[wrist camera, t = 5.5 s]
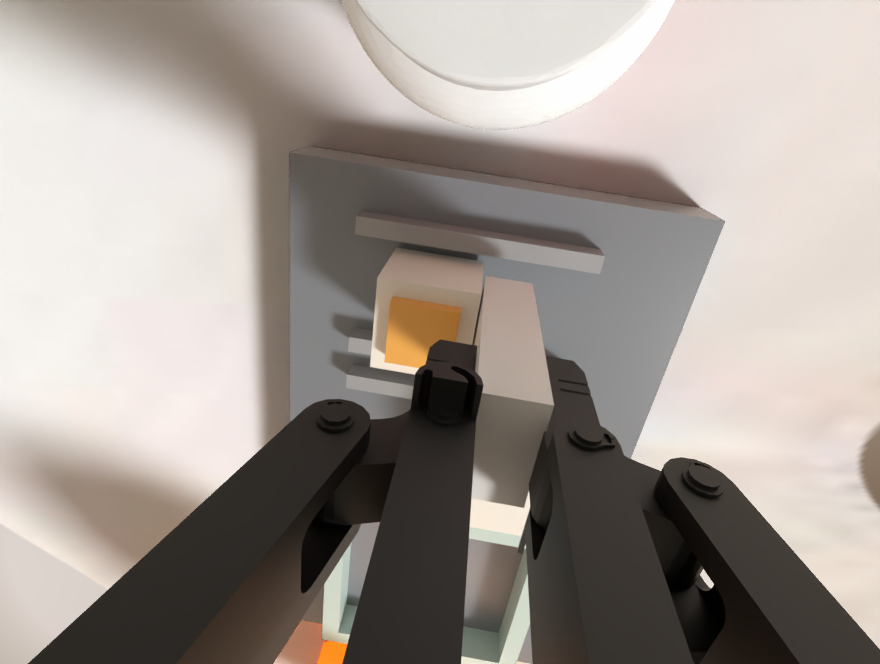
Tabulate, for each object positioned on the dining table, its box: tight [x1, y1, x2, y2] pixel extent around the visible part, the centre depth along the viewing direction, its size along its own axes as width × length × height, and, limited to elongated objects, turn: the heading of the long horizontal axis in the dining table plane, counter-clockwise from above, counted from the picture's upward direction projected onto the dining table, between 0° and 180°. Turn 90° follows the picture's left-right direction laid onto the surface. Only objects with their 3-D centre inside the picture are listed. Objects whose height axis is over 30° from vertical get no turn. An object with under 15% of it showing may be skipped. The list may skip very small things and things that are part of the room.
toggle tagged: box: [370, 248, 484, 375], centre depth 16 cm, size 3×3×3 cm
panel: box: [289, 146, 725, 664], centre depth 21 cm, size 24×14×4 cm, turn 172°
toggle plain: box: [470, 492, 530, 536], centre depth 19 cm, size 3×3×3 cm
